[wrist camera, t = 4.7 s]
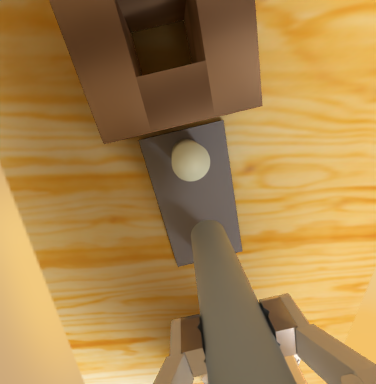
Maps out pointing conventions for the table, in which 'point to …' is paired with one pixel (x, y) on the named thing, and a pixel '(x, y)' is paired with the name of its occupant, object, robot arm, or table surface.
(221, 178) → the mat
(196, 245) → the pin long
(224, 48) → the socket block
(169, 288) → the table surface
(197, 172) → the pin short
